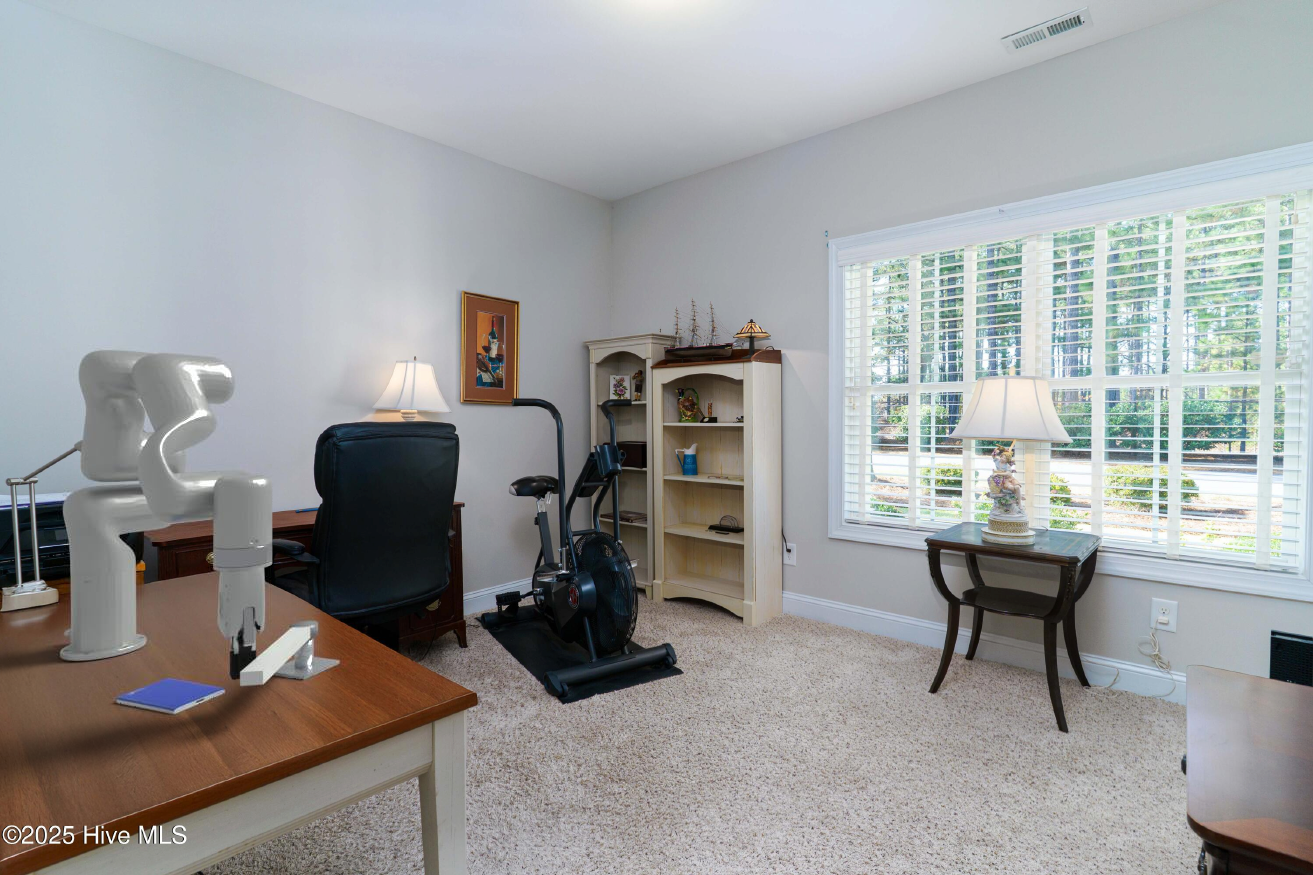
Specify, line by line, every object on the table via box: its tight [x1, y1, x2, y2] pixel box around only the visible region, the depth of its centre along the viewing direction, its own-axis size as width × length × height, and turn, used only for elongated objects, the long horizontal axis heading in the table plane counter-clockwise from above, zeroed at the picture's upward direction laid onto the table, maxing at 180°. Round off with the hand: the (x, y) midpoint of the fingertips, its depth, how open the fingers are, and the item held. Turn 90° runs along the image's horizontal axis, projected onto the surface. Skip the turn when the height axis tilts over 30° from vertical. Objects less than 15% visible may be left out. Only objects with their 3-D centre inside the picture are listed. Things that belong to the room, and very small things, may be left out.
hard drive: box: [116, 677, 226, 715], centre depth 103 cm, size 2×8×12 cm
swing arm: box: [239, 620, 319, 687], centre depth 105 cm, size 25×4×2 cm, turn 12°
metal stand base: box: [272, 636, 340, 681], centre depth 115 cm, size 8×8×6 cm
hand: (243, 675), depth 98 cm, fingers closed
